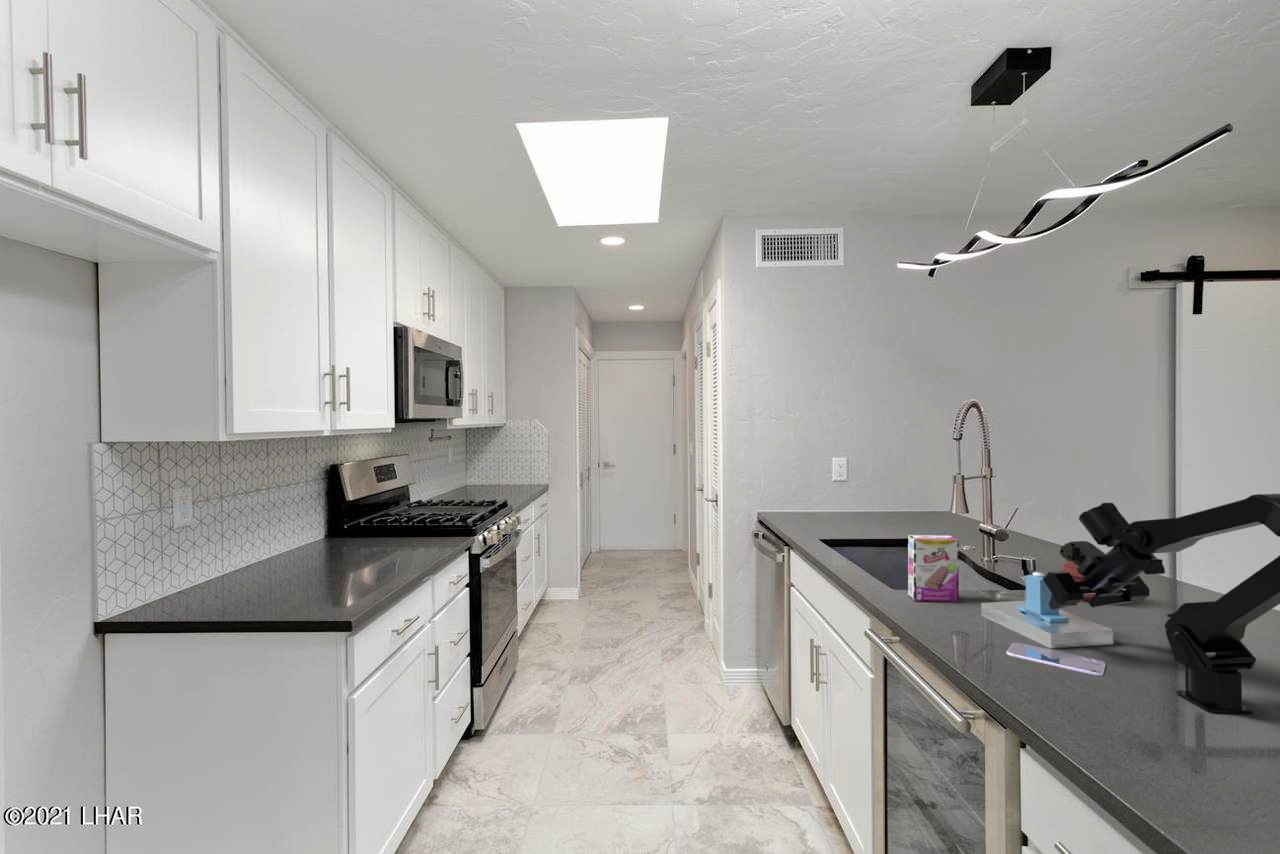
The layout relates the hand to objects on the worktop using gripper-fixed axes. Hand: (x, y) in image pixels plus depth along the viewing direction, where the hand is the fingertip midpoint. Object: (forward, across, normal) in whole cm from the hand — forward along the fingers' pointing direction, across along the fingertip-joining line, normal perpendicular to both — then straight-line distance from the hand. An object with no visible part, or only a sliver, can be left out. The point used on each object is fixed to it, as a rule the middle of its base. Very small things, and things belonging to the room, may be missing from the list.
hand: (1070, 606), depth 119 cm
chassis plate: (+10, 0, 0) cm, 10 cm away
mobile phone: (+1, +10, +11) cm, 15 cm away
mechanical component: (+22, -27, -12) cm, 37 cm away
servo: (+10, 0, 0) cm, 10 cm away
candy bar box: (+27, +10, -17) cm, 33 cm away
